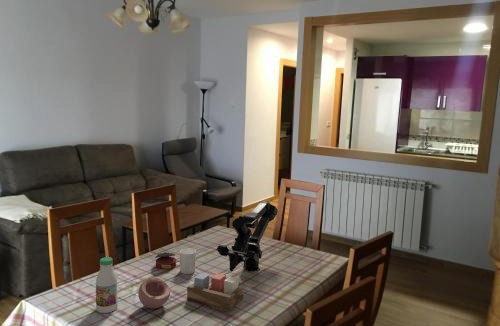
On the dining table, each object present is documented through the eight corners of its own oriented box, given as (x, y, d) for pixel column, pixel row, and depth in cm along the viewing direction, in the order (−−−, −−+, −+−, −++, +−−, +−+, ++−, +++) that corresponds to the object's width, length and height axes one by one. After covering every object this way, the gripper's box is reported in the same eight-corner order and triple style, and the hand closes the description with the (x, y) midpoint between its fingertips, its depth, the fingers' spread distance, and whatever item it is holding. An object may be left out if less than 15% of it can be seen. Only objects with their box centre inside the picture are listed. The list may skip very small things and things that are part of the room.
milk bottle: (99, 303, 158) (98, 255, 155) (119, 303, 158) (119, 255, 156) (93, 314, 150) (92, 262, 147) (114, 313, 151) (114, 263, 148)
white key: (229, 293, 167) (229, 276, 166) (238, 295, 165) (238, 278, 164) (223, 298, 163) (224, 280, 161) (232, 300, 161) (233, 282, 160)
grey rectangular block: (200, 289, 169) (200, 272, 168) (208, 292, 167) (209, 274, 166) (194, 294, 165) (194, 277, 163) (202, 296, 163) (203, 279, 162)
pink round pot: (154, 317, 149) (154, 288, 147) (131, 308, 155) (131, 280, 154) (176, 305, 159) (176, 277, 157) (154, 296, 165) (154, 270, 164)
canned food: (155, 277, 195) (146, 258, 194) (167, 267, 204) (158, 250, 203) (173, 271, 190) (163, 252, 189) (184, 261, 199) (175, 243, 198)
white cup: (192, 275, 187) (193, 254, 186) (176, 273, 188) (177, 253, 187) (198, 268, 195) (198, 249, 193) (182, 267, 196) (183, 247, 195)
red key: (216, 290, 169) (217, 273, 168) (225, 292, 168) (225, 275, 167) (210, 294, 165) (211, 277, 164) (219, 297, 163) (219, 279, 162)
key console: (203, 288, 174) (203, 275, 173) (242, 298, 166) (243, 284, 166) (187, 300, 163) (187, 286, 162) (229, 312, 155) (229, 297, 154)
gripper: (265, 251, 187) (255, 283, 178) (229, 244, 194) (218, 274, 186) (259, 240, 178) (248, 272, 170) (222, 233, 186) (209, 263, 177)
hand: (230, 271), depth 176 cm, fingers closed
